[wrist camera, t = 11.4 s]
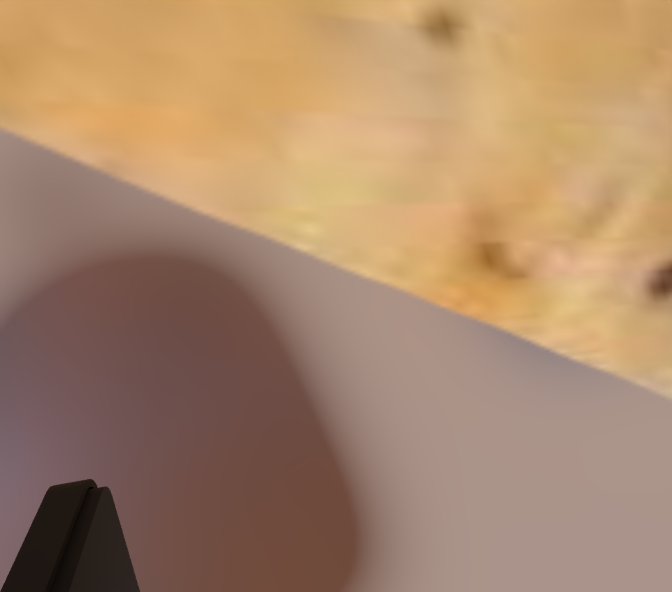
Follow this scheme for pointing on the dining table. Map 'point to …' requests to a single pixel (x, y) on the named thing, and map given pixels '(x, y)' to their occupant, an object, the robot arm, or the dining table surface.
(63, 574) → the robot arm
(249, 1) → the dining table surface
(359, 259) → the dining table surface
